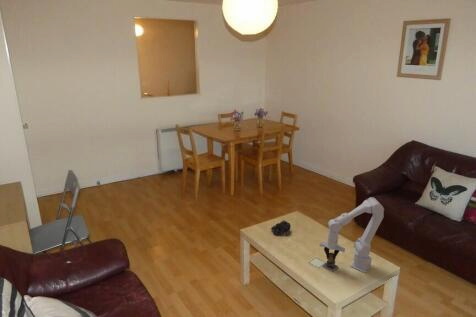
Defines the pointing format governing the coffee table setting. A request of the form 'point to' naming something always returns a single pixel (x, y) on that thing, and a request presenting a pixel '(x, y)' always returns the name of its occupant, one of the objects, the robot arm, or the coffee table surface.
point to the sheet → (316, 262)
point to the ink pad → (330, 267)
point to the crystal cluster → (281, 228)
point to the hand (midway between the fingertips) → (331, 259)
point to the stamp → (330, 260)
